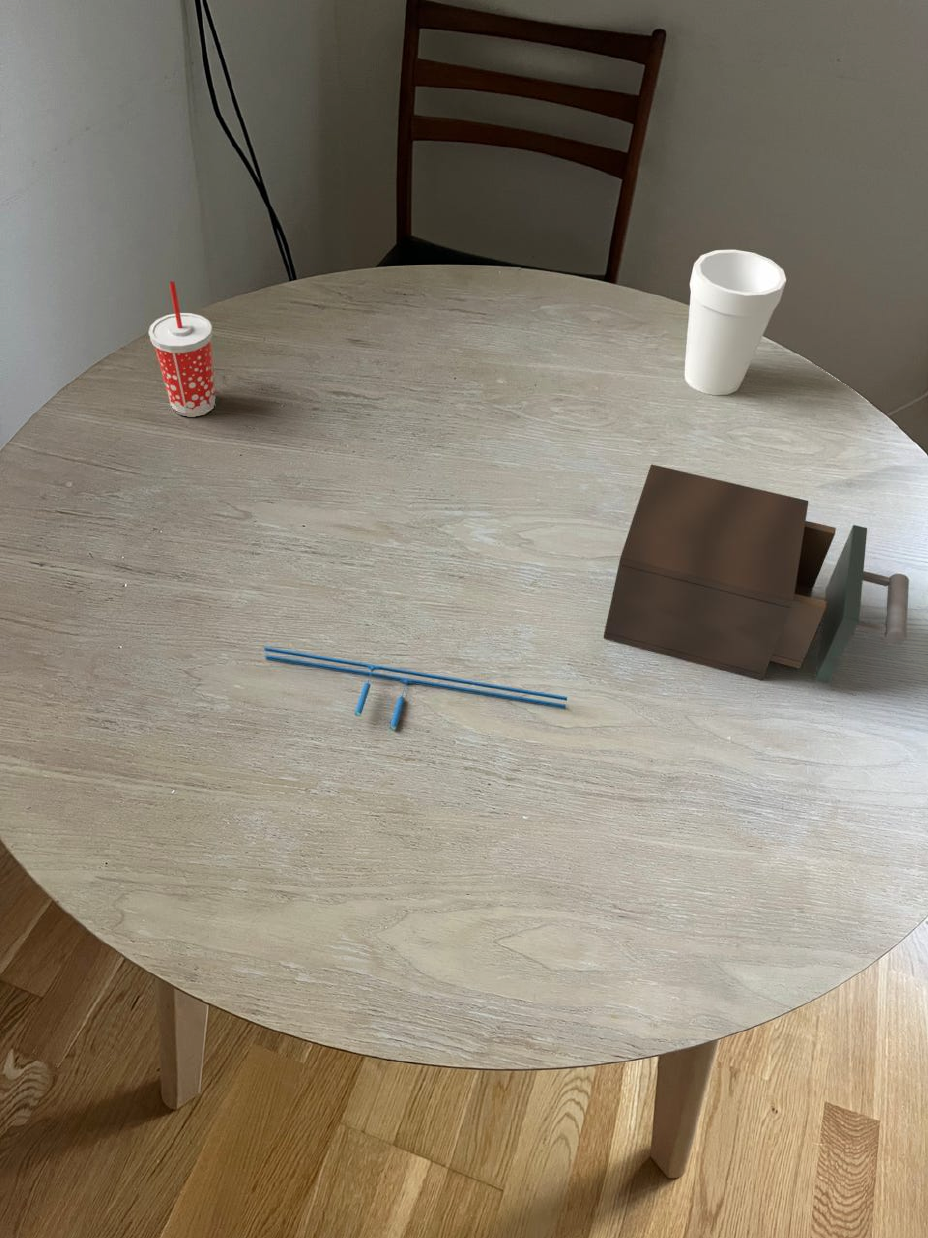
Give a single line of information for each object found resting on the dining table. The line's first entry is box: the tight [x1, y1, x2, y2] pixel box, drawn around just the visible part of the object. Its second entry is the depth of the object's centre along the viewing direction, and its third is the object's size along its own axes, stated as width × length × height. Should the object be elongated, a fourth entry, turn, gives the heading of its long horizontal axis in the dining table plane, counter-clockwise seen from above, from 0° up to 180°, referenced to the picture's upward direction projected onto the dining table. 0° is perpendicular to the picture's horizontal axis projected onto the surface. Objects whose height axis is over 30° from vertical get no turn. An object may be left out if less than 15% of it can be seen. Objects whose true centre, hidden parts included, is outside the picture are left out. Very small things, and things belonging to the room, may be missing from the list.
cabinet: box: [603, 463, 809, 681], centre depth 89 cm, size 14×13×10 cm
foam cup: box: [684, 249, 787, 396], centre depth 112 cm, size 10×9×13 cm
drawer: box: [769, 520, 910, 686], centre depth 87 cm, size 17×11×8 cm
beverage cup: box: [148, 280, 217, 413], centre depth 104 cm, size 6×6×14 cm
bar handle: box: [263, 646, 568, 731], centre depth 83 cm, size 1×25×5 cm
